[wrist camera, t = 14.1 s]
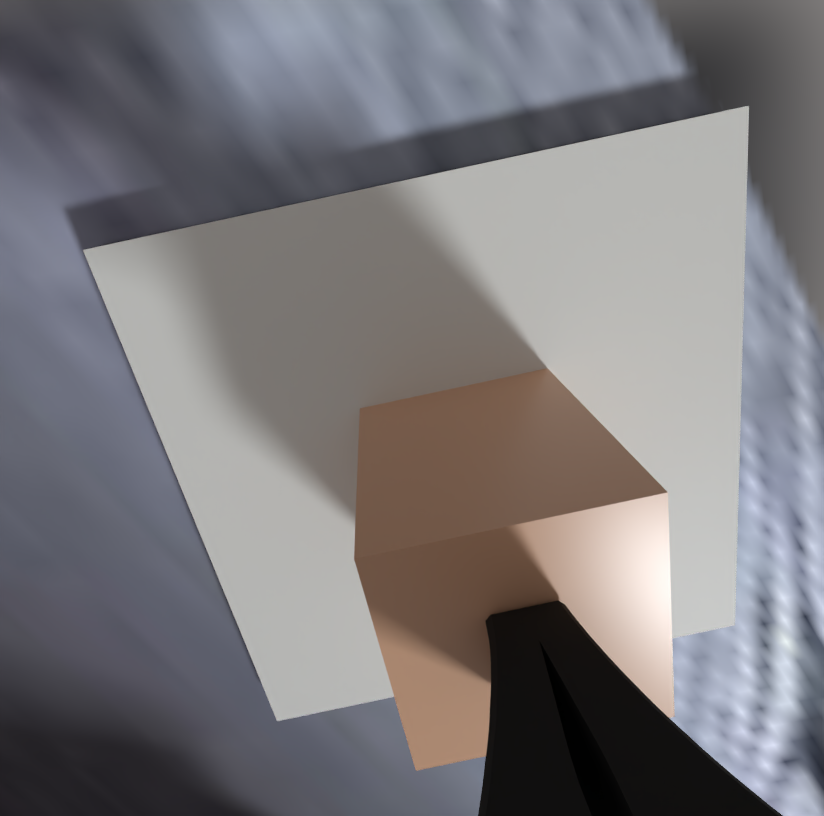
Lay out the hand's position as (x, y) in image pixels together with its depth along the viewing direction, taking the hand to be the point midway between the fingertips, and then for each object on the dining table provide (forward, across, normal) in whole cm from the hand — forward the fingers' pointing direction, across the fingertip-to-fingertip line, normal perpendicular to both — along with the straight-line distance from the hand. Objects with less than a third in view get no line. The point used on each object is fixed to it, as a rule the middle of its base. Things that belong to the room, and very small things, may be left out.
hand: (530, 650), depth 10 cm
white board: (+8, 0, 0) cm, 8 cm away
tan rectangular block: (+7, 0, 0) cm, 7 cm away
